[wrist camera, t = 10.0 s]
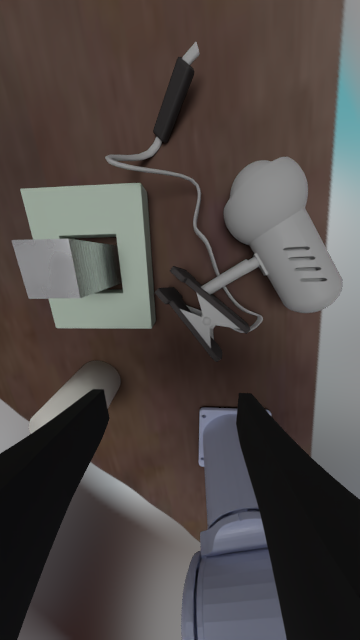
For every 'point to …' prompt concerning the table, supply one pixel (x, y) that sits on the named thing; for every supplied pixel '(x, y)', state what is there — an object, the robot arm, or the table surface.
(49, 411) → the cream round peg
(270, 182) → the clip-on lamp
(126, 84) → the table surface
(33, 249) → the steel square peg
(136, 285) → the socket board
